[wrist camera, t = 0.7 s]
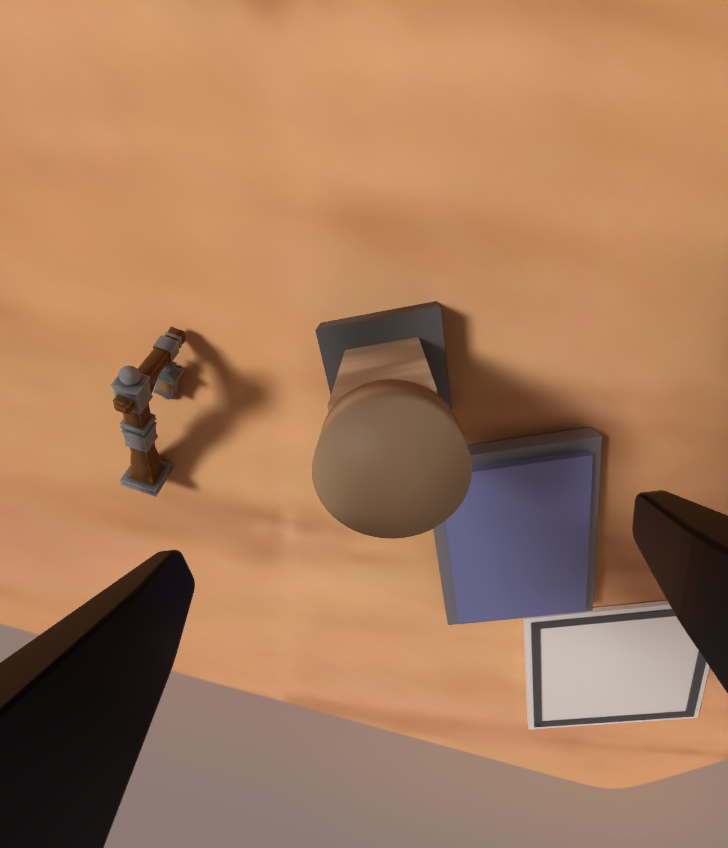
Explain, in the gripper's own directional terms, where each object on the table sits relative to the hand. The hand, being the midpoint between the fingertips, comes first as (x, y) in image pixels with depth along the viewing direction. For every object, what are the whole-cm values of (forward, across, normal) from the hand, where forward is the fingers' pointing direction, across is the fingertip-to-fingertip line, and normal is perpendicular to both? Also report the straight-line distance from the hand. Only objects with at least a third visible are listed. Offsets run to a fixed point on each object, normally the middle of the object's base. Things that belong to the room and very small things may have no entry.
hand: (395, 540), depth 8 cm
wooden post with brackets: (+12, +11, 0) cm, 16 cm away
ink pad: (+12, -5, +10) cm, 16 cm away
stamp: (+12, 0, 0) cm, 12 cm away
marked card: (+12, -11, +22) cm, 27 cm away
